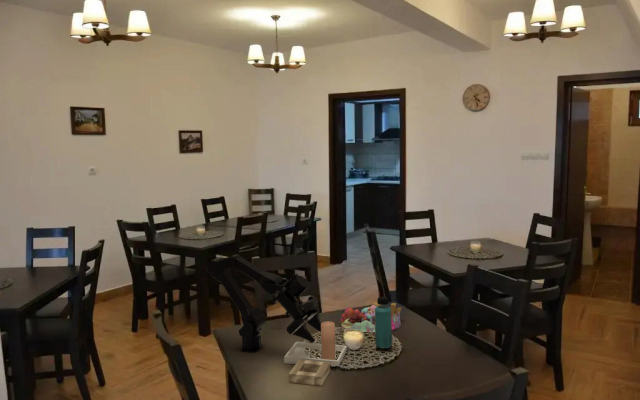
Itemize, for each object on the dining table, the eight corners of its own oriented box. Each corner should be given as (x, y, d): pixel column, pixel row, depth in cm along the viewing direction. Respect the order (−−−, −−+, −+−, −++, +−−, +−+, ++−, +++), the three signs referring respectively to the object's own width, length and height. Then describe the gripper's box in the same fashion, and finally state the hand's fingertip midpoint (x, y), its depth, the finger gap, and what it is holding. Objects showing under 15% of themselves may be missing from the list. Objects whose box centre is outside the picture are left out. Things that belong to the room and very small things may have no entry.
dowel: (323, 361, 181) (322, 327, 179) (320, 356, 186) (319, 322, 184) (336, 360, 182) (335, 325, 180) (334, 354, 187) (333, 320, 185)
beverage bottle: (391, 352, 189) (391, 300, 187) (374, 351, 190) (373, 300, 188) (392, 345, 195) (392, 295, 193) (375, 344, 197) (374, 294, 194)
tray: (284, 363, 182) (284, 356, 182) (296, 347, 196) (296, 341, 195) (338, 368, 177) (338, 361, 177) (346, 352, 190) (346, 345, 190)
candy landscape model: (363, 312, 236) (363, 292, 235) (409, 321, 222) (409, 300, 221) (333, 328, 216) (333, 307, 215) (382, 340, 202) (382, 317, 201)
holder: (289, 382, 168) (288, 373, 167) (299, 367, 178) (299, 359, 178) (321, 385, 165) (321, 377, 164) (330, 370, 175) (329, 362, 175)
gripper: (293, 298, 176) (323, 333, 173) (314, 284, 193) (342, 315, 190) (274, 317, 180) (303, 351, 177) (296, 301, 197) (322, 332, 194)
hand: (318, 336), depth 184 cm, fingers open, 9 cm apart
